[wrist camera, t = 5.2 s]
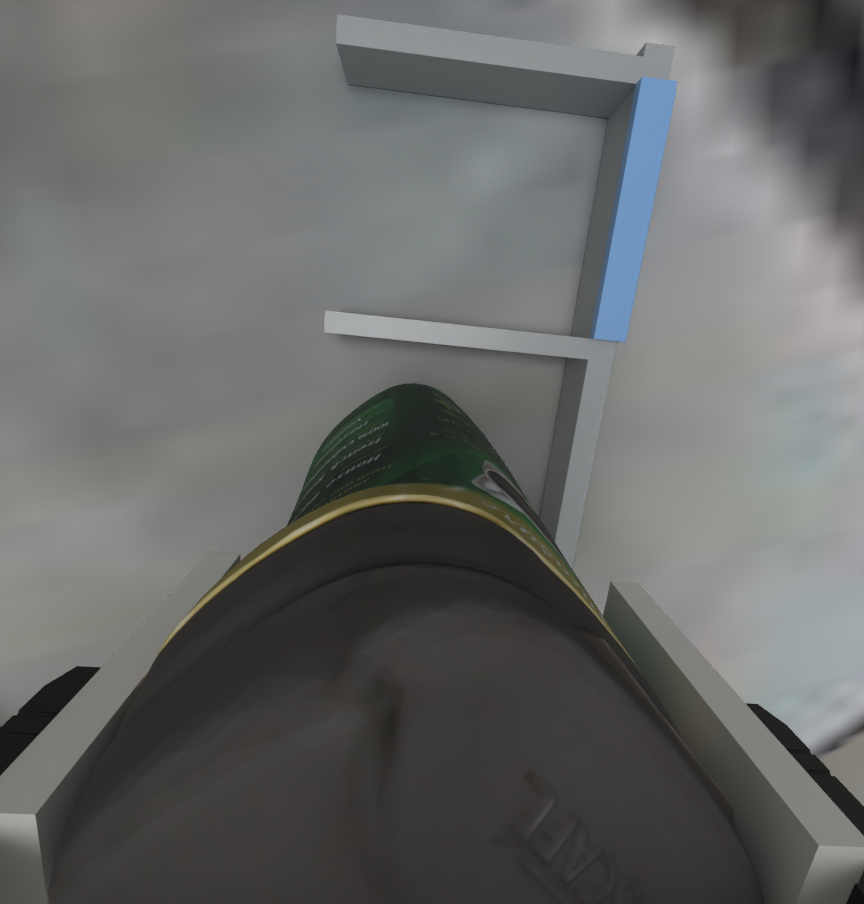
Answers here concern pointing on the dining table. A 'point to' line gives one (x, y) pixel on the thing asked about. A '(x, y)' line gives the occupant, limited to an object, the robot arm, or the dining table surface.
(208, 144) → the dining table surface
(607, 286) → the divided storage rack
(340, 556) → the coffee jar
